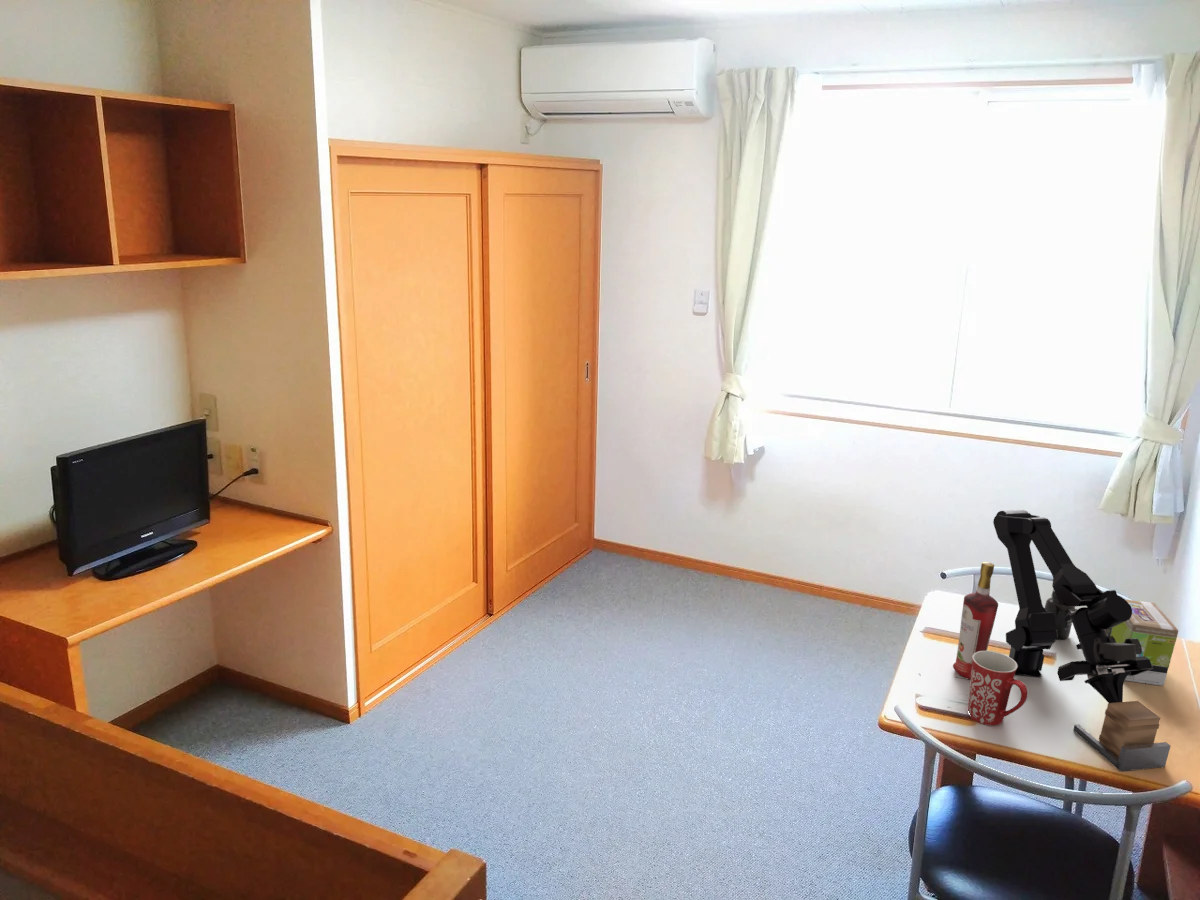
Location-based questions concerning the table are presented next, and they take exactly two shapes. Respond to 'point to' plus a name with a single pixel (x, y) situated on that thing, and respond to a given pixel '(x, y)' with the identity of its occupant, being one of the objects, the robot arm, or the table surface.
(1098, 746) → the bay
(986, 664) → the mug
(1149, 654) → the tea box
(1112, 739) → the chest
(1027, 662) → the robot arm
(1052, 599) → the supplement bottle
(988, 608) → the liquor
